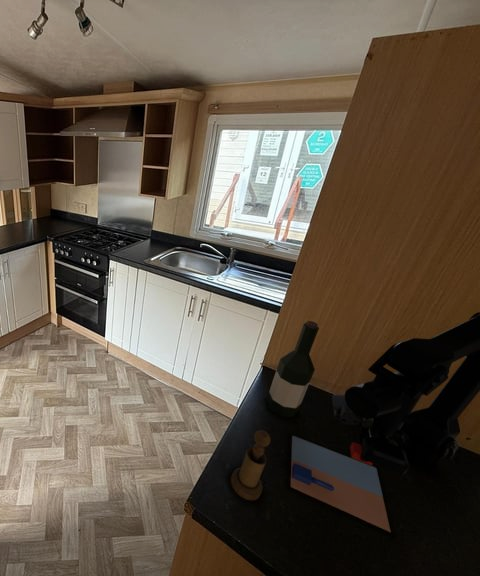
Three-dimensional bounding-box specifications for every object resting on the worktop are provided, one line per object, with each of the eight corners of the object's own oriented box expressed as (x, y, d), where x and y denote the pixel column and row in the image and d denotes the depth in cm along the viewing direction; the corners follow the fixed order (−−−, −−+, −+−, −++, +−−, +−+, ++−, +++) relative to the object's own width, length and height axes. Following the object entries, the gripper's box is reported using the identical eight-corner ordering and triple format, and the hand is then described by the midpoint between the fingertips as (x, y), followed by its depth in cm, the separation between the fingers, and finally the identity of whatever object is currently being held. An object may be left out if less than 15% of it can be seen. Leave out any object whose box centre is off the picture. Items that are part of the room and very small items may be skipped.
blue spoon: (332, 484, 72) (335, 480, 72) (333, 496, 70) (336, 491, 69) (292, 467, 76) (294, 462, 75) (291, 477, 74) (294, 473, 73)
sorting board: (375, 469, 76) (376, 468, 76) (389, 533, 64) (390, 532, 64) (291, 436, 85) (292, 435, 84) (289, 488, 72) (290, 486, 72)
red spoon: (396, 465, 66) (400, 459, 66) (400, 476, 64) (404, 471, 63) (349, 447, 70) (352, 441, 69) (351, 457, 68) (354, 452, 67)
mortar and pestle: (264, 504, 69) (286, 451, 61) (233, 498, 70) (251, 445, 62) (256, 475, 75) (275, 423, 67) (228, 470, 76) (243, 418, 68)
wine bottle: (297, 404, 95) (331, 320, 82) (296, 423, 89) (332, 336, 75) (267, 393, 99) (294, 312, 86) (264, 410, 93) (292, 326, 79)
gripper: (338, 361, 72) (317, 410, 79) (347, 417, 58) (319, 470, 65) (401, 379, 67) (372, 429, 74) (428, 445, 52) (388, 500, 59)
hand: (361, 454), depth 68 cm, fingers closed on red spoon, 3 cm apart
